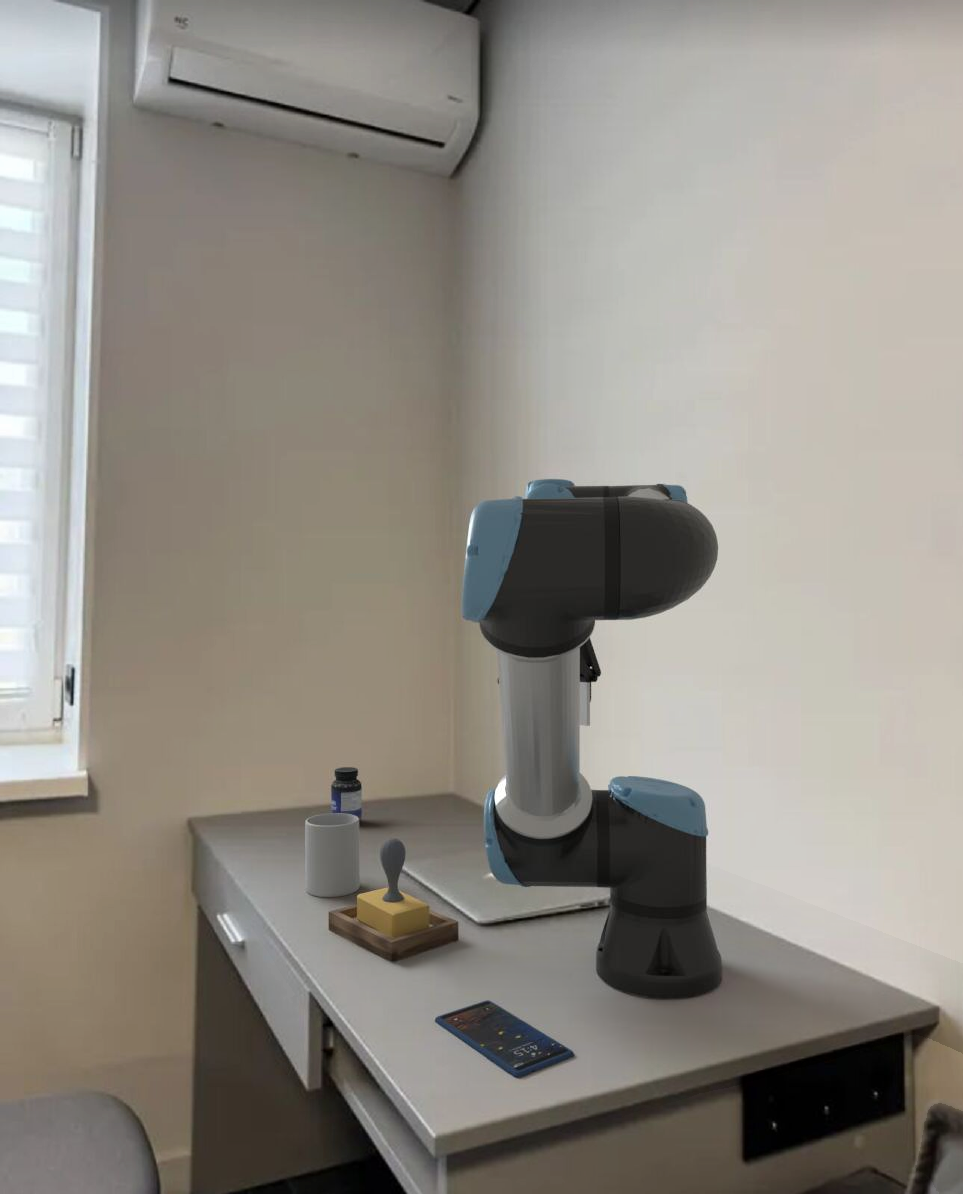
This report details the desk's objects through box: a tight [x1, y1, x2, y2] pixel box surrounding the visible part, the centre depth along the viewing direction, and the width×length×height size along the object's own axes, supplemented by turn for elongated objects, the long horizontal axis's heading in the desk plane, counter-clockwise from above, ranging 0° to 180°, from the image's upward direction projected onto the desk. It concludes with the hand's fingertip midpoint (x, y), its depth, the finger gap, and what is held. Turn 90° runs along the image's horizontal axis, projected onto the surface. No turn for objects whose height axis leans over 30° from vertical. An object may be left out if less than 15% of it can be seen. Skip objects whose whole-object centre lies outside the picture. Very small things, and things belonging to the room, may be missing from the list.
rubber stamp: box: [356, 837, 430, 938], centre depth 126 cm, size 10×6×12 cm, turn 38°
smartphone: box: [434, 999, 575, 1079], centre depth 97 cm, size 8×1×15 cm
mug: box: [304, 813, 361, 898], centre depth 147 cm, size 12×8×11 cm
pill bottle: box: [330, 766, 363, 825], centre depth 186 cm, size 6×6×11 cm
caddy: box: [328, 903, 460, 963], centre depth 126 cm, size 15×11×2 cm
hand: (551, 729), depth 136 cm, fingers open, 13 cm apart
